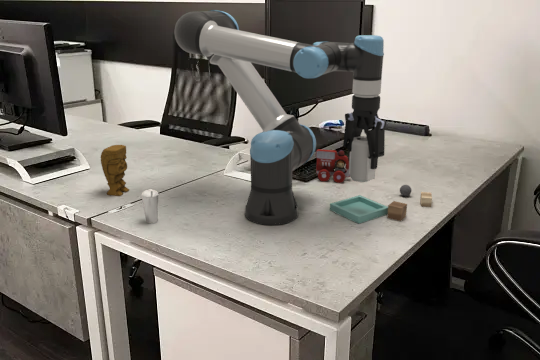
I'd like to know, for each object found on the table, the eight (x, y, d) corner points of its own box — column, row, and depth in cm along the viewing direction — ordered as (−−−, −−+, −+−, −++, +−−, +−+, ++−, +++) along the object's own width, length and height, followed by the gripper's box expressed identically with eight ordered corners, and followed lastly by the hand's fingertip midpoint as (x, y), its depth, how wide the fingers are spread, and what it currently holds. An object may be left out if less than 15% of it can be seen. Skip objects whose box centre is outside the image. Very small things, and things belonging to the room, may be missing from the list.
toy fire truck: (349, 184, 174) (351, 154, 171) (313, 181, 177) (314, 151, 174) (351, 177, 181) (353, 148, 177) (316, 174, 184) (317, 146, 180)
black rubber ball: (405, 198, 162) (406, 187, 160) (396, 195, 164) (397, 184, 163) (413, 196, 164) (414, 185, 162) (404, 192, 166) (405, 182, 165)
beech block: (431, 207, 155) (432, 198, 154) (420, 206, 156) (421, 197, 155) (430, 201, 160) (431, 192, 159) (420, 200, 161) (421, 191, 160)
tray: (358, 223, 144) (359, 217, 143) (329, 209, 153) (329, 203, 153) (388, 213, 150) (389, 207, 150) (359, 201, 160) (359, 195, 159)
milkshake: (145, 226, 142) (143, 192, 139) (142, 219, 147) (139, 186, 143) (162, 224, 144) (160, 190, 140) (158, 216, 148) (155, 183, 145)
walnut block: (400, 221, 146) (402, 208, 144) (387, 218, 148) (388, 205, 146) (405, 216, 149) (407, 203, 147) (392, 213, 151) (393, 200, 150)
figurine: (119, 197, 163) (115, 151, 158) (101, 195, 164) (96, 149, 159) (131, 189, 169) (127, 145, 164) (114, 187, 171) (109, 143, 166)
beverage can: (348, 175, 151) (350, 135, 147) (370, 175, 151) (373, 135, 147) (351, 182, 145) (353, 141, 141) (374, 183, 145) (377, 141, 141)
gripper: (403, 98, 135) (396, 182, 143) (351, 88, 150) (347, 165, 158) (383, 102, 131) (377, 188, 139) (332, 91, 146) (329, 169, 153)
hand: (361, 175), depth 148 cm, fingers closed on beverage can, 6 cm apart
